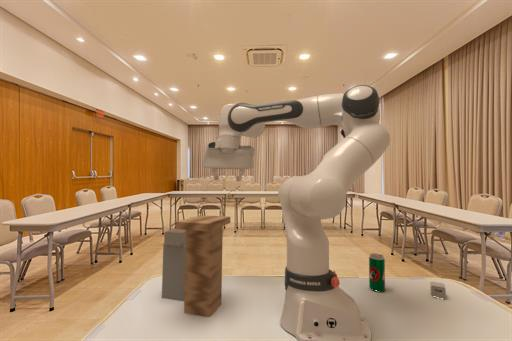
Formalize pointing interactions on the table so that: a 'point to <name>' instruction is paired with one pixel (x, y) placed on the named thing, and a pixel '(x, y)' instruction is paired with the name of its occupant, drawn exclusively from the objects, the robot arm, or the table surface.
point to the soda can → (377, 272)
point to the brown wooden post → (203, 263)
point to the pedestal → (173, 272)
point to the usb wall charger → (438, 289)
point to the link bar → (175, 237)
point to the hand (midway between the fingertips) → (227, 180)
